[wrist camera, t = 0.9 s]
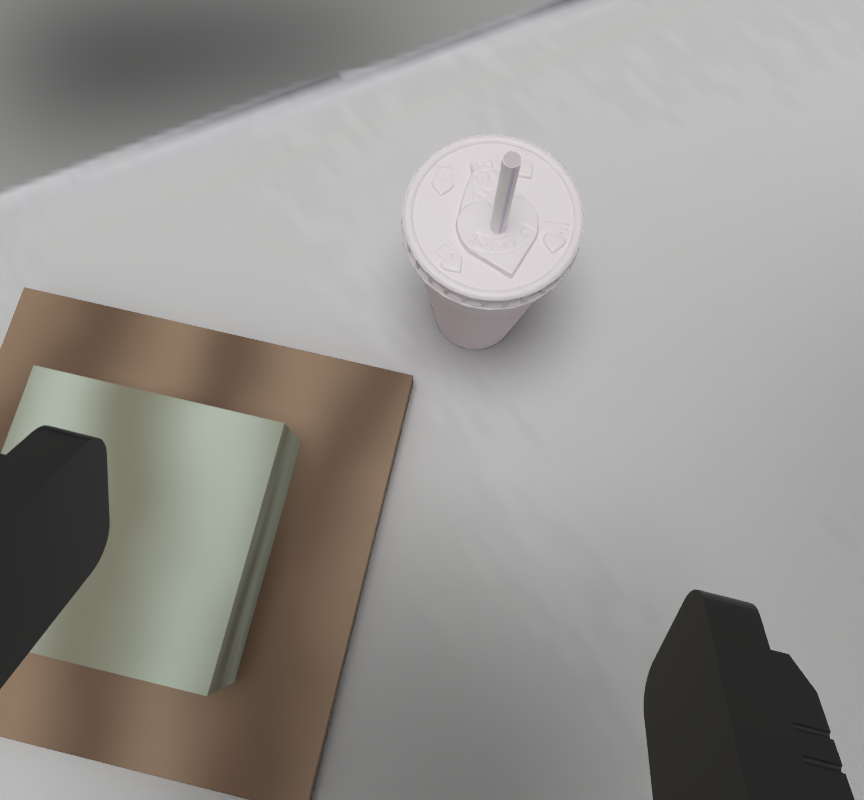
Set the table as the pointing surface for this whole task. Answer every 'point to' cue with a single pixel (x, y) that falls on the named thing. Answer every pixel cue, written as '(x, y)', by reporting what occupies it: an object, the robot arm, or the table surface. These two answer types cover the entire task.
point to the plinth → (300, 573)
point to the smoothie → (490, 233)
